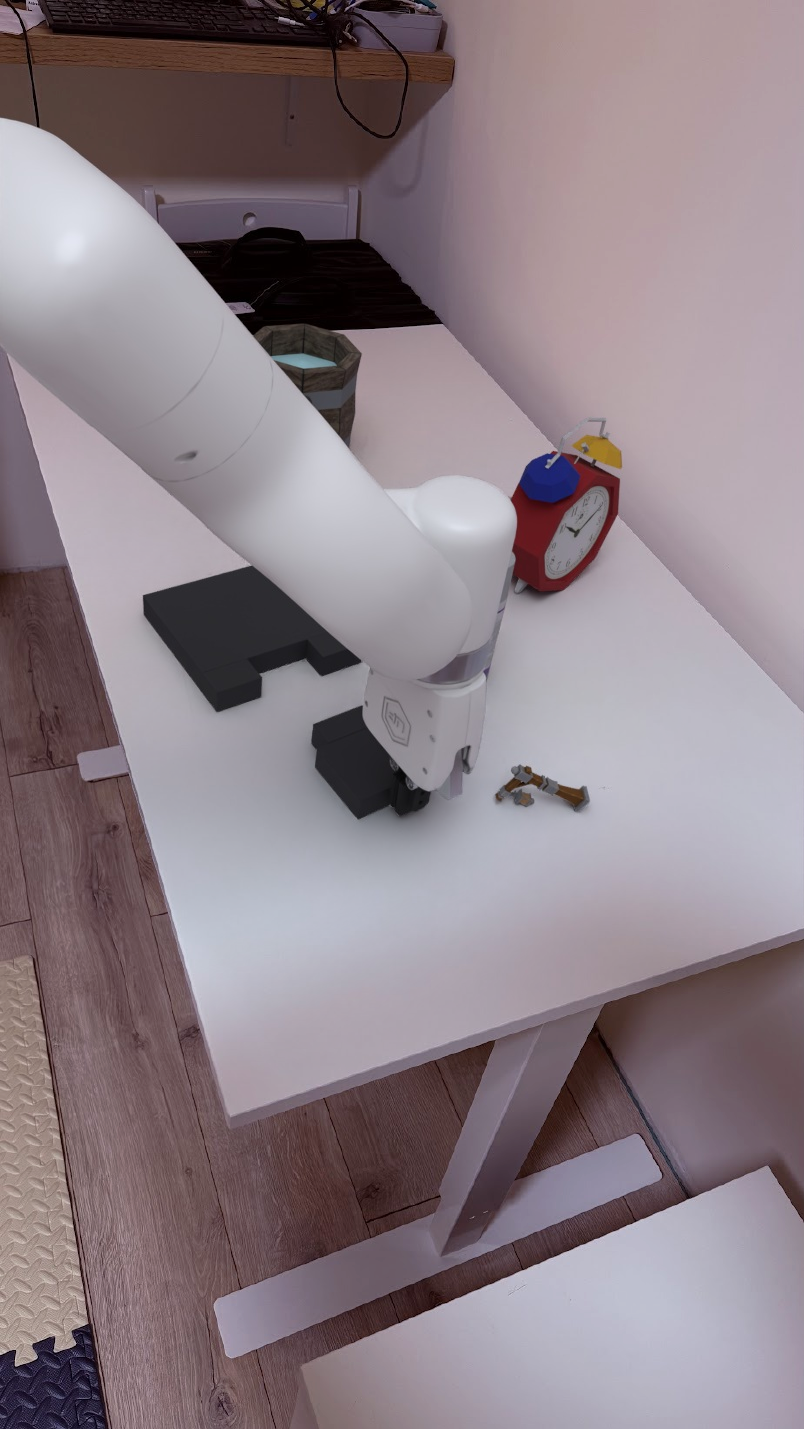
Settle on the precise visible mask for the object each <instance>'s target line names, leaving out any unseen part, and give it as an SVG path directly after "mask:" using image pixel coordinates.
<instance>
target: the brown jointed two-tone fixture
mask: <svg viewBox="0 0 804 1429" xmlns="http://www.w3.org/2000/svg"><path fill="white" fill-rule="evenodd" d="M510 772H511V774H512V775H513V777H512V778H511V779H510V780H509V781H508V782H507V783H505V784H503V785H502V786H501V787H500V788H499V790H498V791H497V792H496V793H495V795H494V796H495V800H496V801H499V802H502V801H503V800H504V799H505V798H508V797H509V796H511V798H512V800H513V799H514V800H515V805H518V804H521V805H523V806H525V808H527V807H528V806H529V805H533V804H534V803H535V799H534V798H533V797H532V793H531V792H525V791H523V787H525V786H530V785H533V786H534V787H536V788H537V790H538V791H541V792H543V793H546V794H548V795H550V796H554V795H555V796H556V797H559V798H561V799H563V800H564V801H567V802H568V803H570V804H571V805H573V810H574V812H577V813H579V812H580V811H581V810H583V808H584V807H586V806H587V805H588V804H589V803H590V802H591V799H590V794H589V791H588V790H589V789H588V787H587V785H581V786H580V787H579V788H574V787H571V786H567V785H562V784H560V783H558V781H557V780H554V779H551V778H550V777H549V776H546V775H543V774H542V775H539V774H537V773H535V772H533V769H532V767H531V766H529V765H525V766H524V765H522V764H521V763H520V764H518V765H517V766H512V767H511V769H510ZM518 788H520V789H519V790H518V791H516V789H518Z"/></svg>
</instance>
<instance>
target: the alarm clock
mask: <svg viewBox="0 0 804 1429" xmlns="http://www.w3.org/2000/svg"><path fill="white" fill-rule="evenodd" d="M588 422H590V423H591V422H592V423H593V422H597V423H601V425H600V429H599V433H598V435H599V436H597V435H591V434H585V435H584V436H583V437H580V438H579V439H578V440H577V441H576V442H574V443H572V444H571V445H570V447H572V448H574V449H575V450H577V451H578V452H580V453H579V455H578V454H573V453H566V452H562V451H563V447H564V445H565V441H566V439H568V438H569V437H570V436H571V435H573V434H574V433H575V432H576V431H578V430H579V429H580V428H581V427H582V426H584V425H585V424H587V423H588ZM606 423H607V417H586V418H584V419H583V420H582V421H581V422H579V423H578V424H576V426H574V427H573V428H572V429H571V430H569V431H568V432H567V433H566V434H564V435H563V436H562V437H561V439H560V442H559V446H558V449H557V450H552V451H551V452H549V453H548V452H547V453H545V454H542V455H540V456H537V457H536V458H533V459H531V461H529V462H528V463H527V465H525V466H524V469H523V472H522V474H521V477H520V479H519V481H518V483H517V485H516V488H515V490H514V491H513V494H512V496H509V495H507V496H508V497H509V499H510V500H511V502H512V504H513V506H514V507H515V511H516V515H517V529H516V535H515V539H514V544H513V548H512V552H513V553H514V555H515V565H514V569H513V574H512V575H513V576H515V577H517V578H518V580H517V583H516V584H515V588H514V592H515V594H520V593H521V592H522V591H523V590H524V589H525V588H526V587H527V586H528V585H529V586H531V587H533V588H534V589H536V590H538V591H539V592H553V591H565V589H566V588H568V587H569V585H571V583H572V582H574V580H575V579H576V578H577V577H578V576H579V575H581V573H582V572H584V570H585V569H587V567H588V566H590V564H591V563H592V562H594V560H595V559H596V558H597V555H598V554H599V552H600V550H601V548H602V546H603V544H604V542H605V541H606V538H607V537H608V534H609V533H610V530H611V528H612V527H613V525H614V523H615V521H616V519H617V517H618V515H619V504H620V490H621V489H620V488H621V487H620V486H621V478H619V476H615V475H614V474H612V473H611V472H609V471H607V470H606V469H603V468H601V467H599V466H598V465H596V463H597V461H598V462H599V463H602V464H604V465H607V466H609V467H612V468H615V469H618V470H622V468H623V458H622V450H620V448H618V447H617V446H616V445H615V444H614V443H612V442H611V441H610V439H609V437H610V435H611V433H610V432H609V431H606V433H605V434H604V431H605V427H606ZM582 455H585V456H587V457H589V458H591V459H592V461H591V462H590V461H588V460H586V459H585V458H583V457H581V456H582Z"/></svg>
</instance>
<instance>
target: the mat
mask: <svg viewBox="0 0 804 1429" xmlns="http://www.w3.org/2000/svg"><path fill="white" fill-rule="evenodd" d="M142 609H143V610H142V611H143V616H144V617H145V618H146V620H147V621H148V622H149V624H150V625H151V627H152V628H153V630H154V631H156V633H157V634H158V636H159V637H160V638H161V640H162V641H163V642H164V644H165V645H166V646H167V648H168V650H169V651H170V652H171V653H172V655H173V656H174V657H175V658H176V660H177V661H178V662H179V664H180V665H181V666H182V668H183V669H184V670H185V672H186V673H187V674H188V676H189V677H190V678H191V680H192V681H193V683H194V684H195V685H196V686H197V688H198V689H199V691H200V692H201V693H202V694H203V696H204V697H205V699H206V700H207V701H208V703H209V704H210V705H211V707H212V708H213V709H214V711H215V712H216V713H219V712H221V711H224V710H228V709H231V708H233V707H236V706H239V705H242V704H245V703H247V702H250V701H251V702H252V701H254V700H256V699H260V698H262V690H263V677H262V675H261V674H263V673H265V672H268V671H271V670H275V669H276V668H280V667H284V666H286V665H289V664H293V663H295V662H298V661H301V660H303V659H304V660H305V659H306V660H307V662H308V663H309V664H310V666H312V668H314V670H315V671H316V672H317V673H318V675H319V676H320V677H323V676H326V675H329V674H332V673H335V672H338V671H340V670H344V669H347V668H349V667H352V666H355V665H358V664H361V663H362V660H360V659H359V658H358V657H357V656H356V655H354V654H353V653H352V652H351V651H350V650H349V649H347V648H346V647H345V646H344V645H343V644H341V643H340V642H339V641H338V640H337V639H336V638H334V637H333V636H332V635H331V634H330V633H329V632H328V631H327V630H325V629H324V628H323V627H322V626H321V625H320V624H319V623H318V622H317V621H315V620H314V619H313V618H312V617H311V616H310V615H309V614H308V613H307V612H306V611H304V610H303V609H302V608H301V607H300V606H299V605H298V604H297V603H296V602H295V601H293V600H292V599H291V598H290V597H289V596H288V595H287V594H286V593H284V592H283V591H282V590H281V589H280V588H279V587H278V586H277V585H275V584H274V583H273V582H272V581H271V580H269V579H268V578H267V577H266V576H265V575H263V574H262V573H261V572H260V571H259V570H257V569H256V568H255V567H254V566H252V565H248V566H245V567H241V568H238V569H234V570H229V571H226V572H222V573H219V574H215V575H211V576H208V577H204V578H200V579H196V580H193V581H190V582H186V583H182V584H179V585H178V584H177V585H175V586H171V587H167V588H164V589H160V590H156V591H153V592H150V593H149V592H148V593H146V594H142Z"/></svg>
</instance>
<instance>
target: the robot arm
mask: <svg viewBox="0 0 804 1429" xmlns="http://www.w3.org/2000/svg"><path fill="white" fill-rule="evenodd" d="M0 347H1V349H3V351H4V352H5V353H6V354H7V355H8V356H9V357H10V358H11V359H12V360H13V361H14V362H16V363H17V364H18V365H19V367H21V368H22V369H23V370H24V371H25V372H26V373H27V374H29V375H30V376H31V377H32V378H33V379H35V380H36V381H37V382H38V383H39V384H40V385H41V386H42V387H44V388H45V389H46V390H47V391H48V392H49V393H51V394H52V395H53V396H54V397H55V398H57V399H58V400H59V401H60V402H61V403H63V404H64V405H65V406H66V407H67V408H68V409H70V410H71V411H72V412H73V413H74V414H76V415H77V417H79V418H80V419H81V420H83V422H85V423H86V425H87V424H88V426H90V427H91V428H93V429H95V430H96V431H97V432H98V433H99V434H100V435H101V436H103V437H104V438H105V439H106V440H107V441H108V442H109V443H111V444H112V445H113V446H114V447H116V449H118V450H119V451H120V452H122V453H123V454H124V455H125V456H126V457H127V458H129V460H130V461H132V462H133V463H134V464H136V465H137V466H138V467H139V468H140V469H141V470H142V471H143V472H144V473H145V474H146V475H147V476H148V477H150V478H151V480H153V481H155V483H157V484H158V485H159V486H160V487H161V488H163V489H164V490H165V491H166V492H167V493H168V494H169V495H171V497H173V498H174V499H175V500H176V501H177V502H179V503H180V505H182V506H183V507H184V508H185V509H187V511H189V512H190V513H191V514H192V515H193V516H195V517H196V519H197V520H198V521H200V522H201V523H202V525H204V526H205V527H206V528H207V529H208V530H209V531H210V532H211V533H212V534H213V535H214V536H215V537H216V538H217V539H219V540H220V541H221V542H222V543H223V544H225V545H226V546H227V547H228V548H230V549H231V550H232V551H233V552H234V553H235V554H237V555H238V556H239V557H241V558H242V559H243V560H244V561H246V562H247V563H248V564H250V566H254V567H255V568H256V569H257V570H259V571H260V572H261V573H262V574H263V575H265V576H266V577H267V578H268V579H269V580H271V581H272V582H273V583H274V584H275V585H277V586H278V587H279V588H280V589H281V590H282V591H283V592H284V593H286V594H287V595H288V596H289V597H290V598H291V599H292V600H293V601H295V602H296V603H297V604H298V605H299V606H300V607H301V608H302V609H303V610H304V611H306V612H307V613H308V614H309V615H310V616H311V617H312V618H313V619H314V620H315V621H317V622H318V623H319V624H320V625H321V626H322V627H323V628H324V629H325V630H327V631H328V632H329V633H330V634H331V635H332V636H333V637H334V638H336V639H337V640H338V641H339V642H340V643H341V644H343V645H344V646H345V647H346V648H347V649H349V650H350V651H351V652H352V653H353V654H354V655H356V656H357V657H358V658H359V659H360V660H361V662H363V663H364V664H365V665H366V666H367V667H368V668H369V671H368V675H367V680H366V684H365V690H364V696H363V703H362V705H363V719H364V722H365V724H366V726H367V727H368V729H369V730H370V731H371V733H372V734H373V735H374V737H375V738H376V739H377V740H378V741H379V743H380V744H381V745H382V746H383V747H384V749H385V750H386V751H387V752H388V753H389V755H390V765H391V767H392V769H393V770H394V771H395V773H393V776H392V782H391V789H390V795H389V801H388V803H389V804H390V805H389V806H390V807H391V808H393V809H394V812H395V814H396V815H397V816H398V817H402V816H404V815H406V814H407V815H408V814H409V813H411V812H415V813H416V812H419V811H420V810H423V809H424V808H425V807H427V805H428V804H429V803H430V800H431V794H432V791H435V792H436V793H438V794H439V795H441V797H443V798H444V799H445V800H446V801H451V800H453V799H455V798H457V797H460V796H462V795H463V774H465V775H470V774H471V773H472V772H473V770H474V768H475V765H476V763H477V759H478V757H479V753H480V747H481V743H482V739H483V738H482V737H483V731H484V724H485V723H484V722H485V718H486V717H485V715H486V702H487V681H486V676H485V674H484V672H483V671H484V669H485V665H486V661H487V656H488V652H489V648H490V643H491V639H492V635H493V630H494V626H495V621H496V617H497V612H498V608H499V604H500V599H501V595H502V590H503V586H504V582H505V578H506V573H507V569H508V565H509V561H510V556H511V552H512V548H513V544H514V539H515V535H516V529H517V515H516V511H515V507H514V506H513V504H512V502H511V500H510V498H509V497H510V496H509V495H507V493H505V492H504V491H502V489H500V488H499V487H498V486H496V485H494V484H492V483H491V482H488V481H486V480H484V479H482V478H481V479H480V478H477V477H474V476H470V475H469V476H468V475H463V474H447V475H440V476H436V477H433V478H430V479H428V480H426V481H424V482H422V483H420V484H419V485H417V486H415V487H413V486H412V487H401V488H383V487H382V486H381V485H380V484H379V483H378V482H377V481H376V479H374V477H373V476H372V475H371V474H370V473H369V472H368V470H367V469H366V468H365V467H364V466H363V464H362V463H361V462H360V461H359V459H358V458H357V457H356V456H355V454H354V453H353V452H352V450H351V449H350V448H348V447H347V446H346V444H345V443H344V442H343V440H342V439H341V438H340V437H339V436H338V434H337V433H336V432H335V431H334V430H333V428H332V427H331V426H330V425H329V424H328V423H327V421H326V420H325V419H324V418H323V417H322V415H321V414H320V413H319V412H318V411H317V410H316V409H315V407H314V406H313V405H312V404H311V403H310V402H309V401H308V400H307V398H306V397H305V396H304V395H303V394H302V393H301V392H300V390H299V389H298V388H297V387H296V386H295V384H294V383H293V382H292V381H291V380H290V379H289V377H288V376H287V375H286V374H285V373H284V372H283V371H282V369H281V368H280V367H279V366H278V365H277V364H276V363H275V362H274V360H273V359H272V358H271V357H270V356H269V354H268V353H267V352H266V351H265V350H264V348H263V347H262V346H261V345H260V344H259V343H258V342H257V340H256V339H255V338H254V337H253V334H252V333H251V332H250V331H249V330H248V328H247V327H246V326H245V325H244V324H243V322H242V321H241V320H240V319H239V318H238V317H237V315H236V314H235V313H234V312H233V310H232V309H231V308H230V307H229V305H227V303H226V302H225V300H223V298H221V296H220V295H219V294H218V292H217V291H216V290H215V289H214V287H213V286H212V284H210V283H209V282H208V280H207V279H206V278H205V276H204V275H202V274H201V272H200V271H199V269H198V268H197V267H196V266H195V265H194V264H193V263H192V262H191V261H190V259H189V258H188V257H187V256H186V255H185V253H184V252H183V251H182V249H181V248H180V247H179V245H177V244H176V242H174V240H173V239H172V238H171V236H169V234H168V233H167V232H166V231H165V230H164V228H163V227H162V226H161V225H160V224H159V223H158V221H157V220H156V219H155V218H154V217H153V216H152V215H151V214H150V213H149V212H148V211H147V210H146V209H145V208H144V207H143V206H142V205H141V204H140V203H139V202H138V201H137V200H136V199H135V198H134V197H133V196H132V195H130V194H129V193H128V192H127V191H126V190H125V189H123V187H122V186H120V185H119V184H117V183H116V182H115V181H114V180H112V178H111V177H109V176H107V174H105V173H104V172H103V171H101V170H100V169H99V168H97V166H95V165H94V164H93V163H91V162H90V161H89V160H87V158H85V157H84V156H82V154H80V153H79V152H78V151H76V150H75V149H74V148H73V147H71V146H70V145H69V144H67V142H65V141H64V140H62V139H61V138H60V137H59V136H57V135H55V134H53V133H51V132H49V131H47V130H44V129H43V128H40V127H37V126H35V125H32V124H29V123H26V122H23V121H19V120H15V119H9V118H5V117H0ZM508 496H509V497H508Z"/></svg>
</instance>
